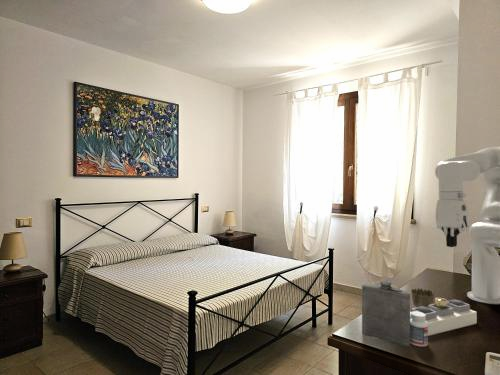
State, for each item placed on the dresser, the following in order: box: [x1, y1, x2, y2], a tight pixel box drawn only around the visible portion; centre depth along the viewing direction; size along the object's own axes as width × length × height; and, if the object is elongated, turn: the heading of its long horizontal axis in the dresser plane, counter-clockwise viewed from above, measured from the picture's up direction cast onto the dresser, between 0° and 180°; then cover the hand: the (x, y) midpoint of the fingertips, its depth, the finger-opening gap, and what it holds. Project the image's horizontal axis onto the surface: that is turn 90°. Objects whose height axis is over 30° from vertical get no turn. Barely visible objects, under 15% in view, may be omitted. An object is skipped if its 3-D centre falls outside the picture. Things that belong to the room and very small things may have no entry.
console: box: [410, 299, 478, 337], centre depth 113 cm, size 23×9×6 cm, turn 112°
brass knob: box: [434, 297, 448, 309], centre depth 113 cm, size 4×4×3 cm
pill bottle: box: [410, 311, 429, 348], centre depth 101 cm, size 5×5×9 cm
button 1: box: [418, 306, 430, 314], centre depth 110 cm, size 4×4×3 cm
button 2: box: [451, 299, 464, 306], centre depth 116 cm, size 4×4×3 cm
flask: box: [361, 279, 411, 347], centre depth 103 cm, size 4×14×18 cm, turn 52°
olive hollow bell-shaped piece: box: [410, 287, 435, 308], centre depth 123 cm, size 8×7×8 cm
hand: (451, 246), depth 120 cm, fingers closed
